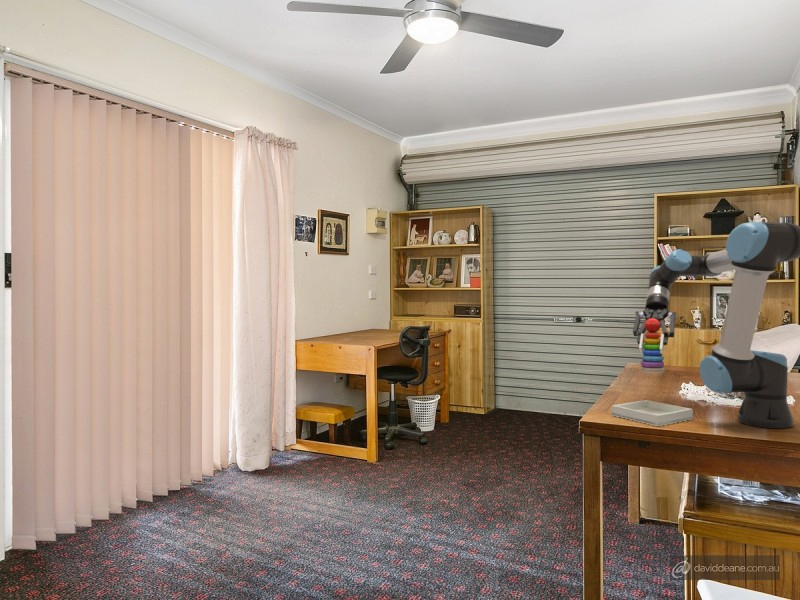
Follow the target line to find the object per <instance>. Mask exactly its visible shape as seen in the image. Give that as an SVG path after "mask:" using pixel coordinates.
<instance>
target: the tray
mask: <svg viewBox="0 0 800 600" xmlns="http://www.w3.org/2000/svg"><path fill="white" fill-rule="evenodd" d="M615 416H616V417H615ZM611 417H615V418H619V417H621V418H620V419H623V418H625V419H624V420H627V419H629V420H628V421H632V420H633V421H632V422H636V421H637V422H636V423H640V422H641V424H644V423H646V424H645V425H648V424H650V426H653V425H654V426H653V427H657V426H660V427H663V425H664V426H668V424H669V425H672V424H673V423H674V424H678V423H677V422H679V423H683V422H682V421H684V422H688V421H687V420H689V421H693V420H694V409H693V408H688V407H684V406H683V407H682V406H679V405H673V404H669V403H664V402H658V401H655V400H647V399H644V400H638V401H632V402H625V403H619V404H613V405H611ZM692 419H693V420H692ZM674 424H673V425H674Z"/></svg>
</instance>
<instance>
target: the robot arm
mask: <svg viewBox="0 0 800 600" xmlns="http://www.w3.org/2000/svg"><path fill="white" fill-rule="evenodd" d="M726 239H727V240H726V243H725V249H722V250H719V251H715V252H711V253H708V254H705V255H692V254H690V252H688V251H686V250H683V249H675V250H673V251H672V252H671V253H670V254H669V255H667V257H666V258H665V259H664V261H663V262H662V263H661V265H657V266H655V267H653V268H652V269H651V271H650V275H649V278H648V279H649V281H648V290H647V295H646V301H645V307H644V308H645V309H644V310H643V311H641V312H639V311H638V310H637V311H635V321H634V325H633V327H632V328H633V329H632V334H633V336H634V337H637V338H636V342H637V344H638V346H639V347H638V350H639V353H640V354H643V353H642V352H643V350H644V348H643V345H644V344H645V343H644V339H645V333H646V332H647V330H646V329H645V322H646V321H647V320H648V319H651V318H654V319H657V320H658V321H659V322H660V329H661V330H662V333H660V340H661V342H660V354H662V355H663V354H664V349H665V346H667V345H668V341H669V338H675V324H676V323H675V322H676V320H677V318H678V317H677V312H676V311H671V312H669V306H670V305H669V304H670V296H671V295H670V294H671V287H672V285H673V284H674V283H675V282H676V281H677V280H678V279H679V278H680V277H709V278H710V277H716V276H720V275H721V274H723V273H725V272H729V271H734V270H735V272H734V277H733V280H732V285H731V289H730V294H729V298H728V303H727V308H726V312H725V316H724V320H723V324H722V329H721V334H720V339H719V342H718V343H716V344H715V345H714V346H712V349H711V355H706V356H705V357H704V358H702V360H701V361H700V362H699V373H700V378H701V379H702V382H703V384H704V385H705V387H706V388H708V390H709V391H711V392H713V393H719V394H721V393H722V394H730V393H743V394H744V395H743V396H744V400H743V401H741V402H742V403H741V406H740V407H739V410H738V412H737V421H738V422H740V423H742V424H745V425H747V426H752V427H758V428H765V429H766V428H767V429H790V428H792V427H794V417H793V414H792V412H791V408H790V406H789V404H788V399H787V398H788V369H789V366H788V359H787V356H786V355H784V354H781V353H776V352H768V351H761V350H760V351H759V350H751V348H752V344H753V339H754V336H755V332H756V327H757V322H758V319H759V314H760V311H761V306H762V303H763V299H764V294H765V290H766V286H767V281H768V278H769V275H771V274H773V273H774V272H776V270H777V267H778V264H780V263H784V262H785V263H786V262H792V261H795V260H797V259H799V258H800V225H798V224H795V223H792V222H768V221H767V222H766V221H765V222H764V221H753V222H744V223H740V224H739V225H737V226H736V227H735V228H733V229H732V230H731V232H730V233H729V235H728V237H727V238H726ZM643 316H644V318H645V319H644V321H643V323H642V324H641V321H642V318H643ZM668 317H669V331H668V330H667V326H666V323H665V319H666V318H668ZM640 325H641V326H640Z"/></svg>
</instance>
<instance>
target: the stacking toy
mask: <svg viewBox="0 0 800 600" xmlns="http://www.w3.org/2000/svg"><path fill="white" fill-rule="evenodd" d="M645 329H646V332H645V333H644V345H643V352H642V353H641V354H643V355H641V359H642V361H640V367H639V368H640V369H639V370H640V372H642V373H645V374H663V373H665V372H666V368H665V367H664V366H665V363H664V359H665V358H664V355H663V354H660V342H661V333H660V332H659V331H660V329H661V325H660V322H659V321H658V320H657V319H654V318H651V319H648V320H647V321H646V322H645Z"/></svg>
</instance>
